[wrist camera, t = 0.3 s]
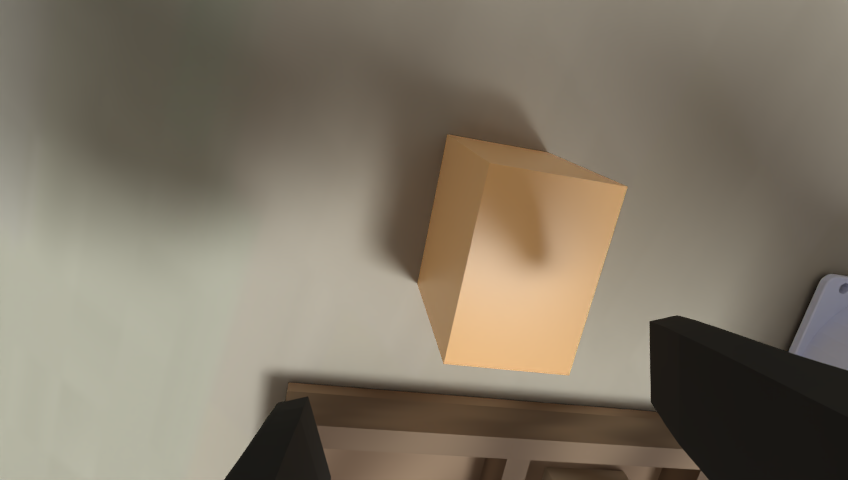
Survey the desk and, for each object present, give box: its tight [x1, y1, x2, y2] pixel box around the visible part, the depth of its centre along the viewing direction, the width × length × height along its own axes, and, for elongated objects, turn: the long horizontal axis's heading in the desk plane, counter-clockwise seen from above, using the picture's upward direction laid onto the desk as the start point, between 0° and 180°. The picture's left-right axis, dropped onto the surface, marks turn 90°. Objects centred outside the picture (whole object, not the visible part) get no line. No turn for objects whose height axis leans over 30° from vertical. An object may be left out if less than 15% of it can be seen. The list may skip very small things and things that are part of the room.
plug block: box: [417, 134, 627, 375], centre depth 17 cm, size 4×6×6 cm, turn 169°
